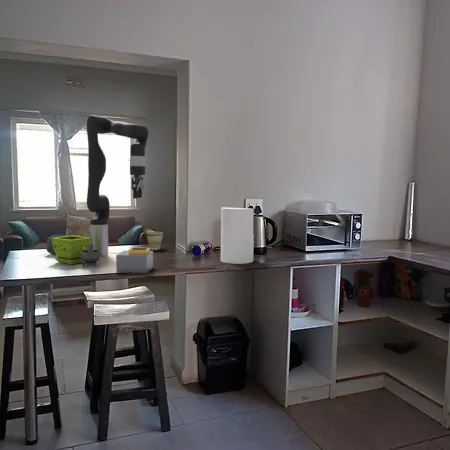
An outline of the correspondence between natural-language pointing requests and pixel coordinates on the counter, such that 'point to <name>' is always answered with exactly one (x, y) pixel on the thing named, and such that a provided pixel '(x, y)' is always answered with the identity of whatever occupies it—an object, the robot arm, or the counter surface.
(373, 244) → the counter surface
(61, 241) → the flower pot
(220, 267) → the counter surface
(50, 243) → the vegetable
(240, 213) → the cylinder
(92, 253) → the mortar and pestle
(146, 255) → the grey box
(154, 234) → the ceramic cup
